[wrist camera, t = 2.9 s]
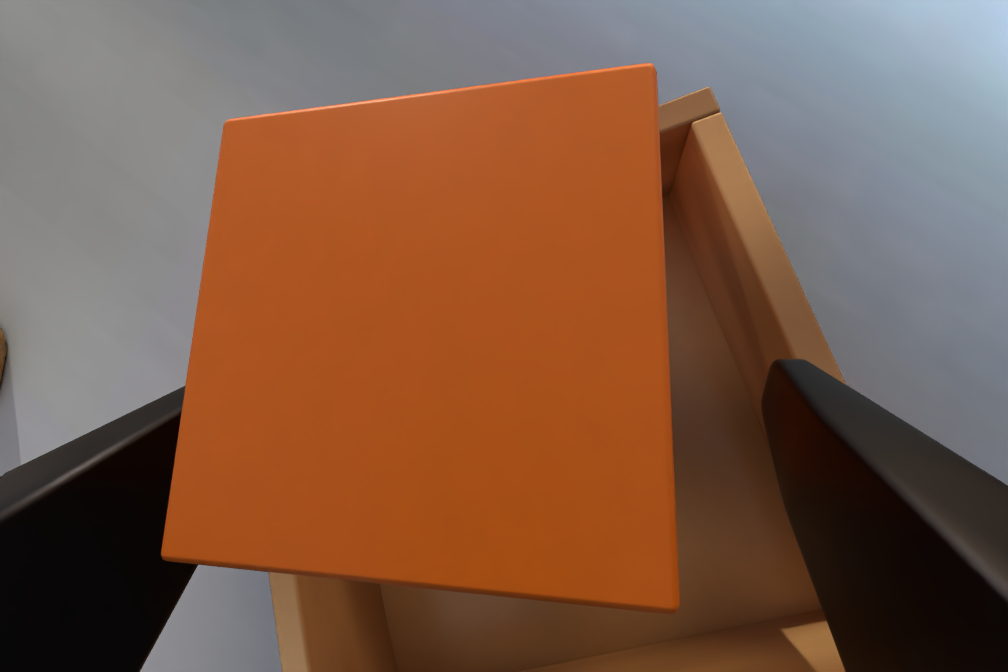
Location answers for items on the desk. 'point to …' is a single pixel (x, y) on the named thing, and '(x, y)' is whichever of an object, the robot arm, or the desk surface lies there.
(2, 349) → the worn brown figurine
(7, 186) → the desk surface
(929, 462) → the robot arm
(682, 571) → the wooden box
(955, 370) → the desk surface
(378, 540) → the orange square pillar
